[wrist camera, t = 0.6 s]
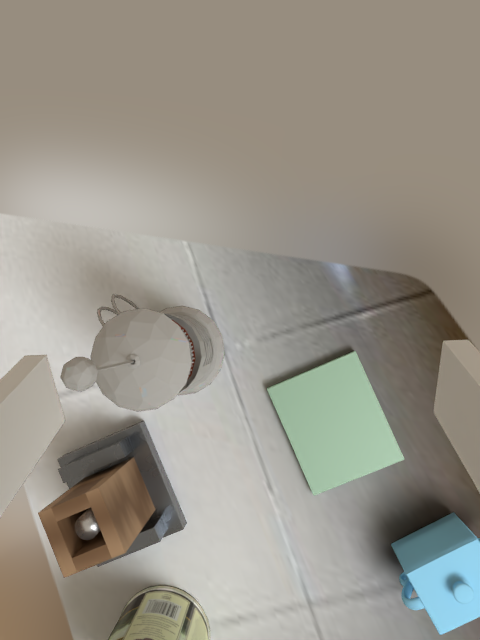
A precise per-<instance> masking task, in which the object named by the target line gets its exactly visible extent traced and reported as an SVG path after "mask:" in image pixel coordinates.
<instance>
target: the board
mask: <svg viewBox="0 0 480 640" xmlns="http://www.w3.org/2000/svg"><path fill="white" fill-rule="evenodd" d="M267 390H268V393H269V395H270V397H271V399H272V402H273V404H274V406H275V409H276V411H277V413H278V415H279V418H280V420H281V422H282V425H283V427H284V429H285V431H286V434H287V436H288V438H289V441H290V443H291V445H292V447H293V450H294V452H295V454H296V456H297V459H298V461H299V463H300V466H301V468H302V470H303V472H304V475H305V477H306V479H307V482H308V484H309V486H310V488H311V491H312V493H313V495H314V496H315V495H317V494H320V493H322V492H325V491H327V490H329V489H332V488H334V487H337V486H339V485H342V484H344V483H347V482H349V481H352V480H354V479H357V478H359V477H362V476H364V475H367V474H369V473H372V472H374V471H377V470H379V469H382V468H384V467H387V466H389V465H392V464H394V463H397V462H399V461H402V460H404V457H403V455H402V453H401V451H400V449H399V446H398V444H397V442H396V440H395V438H394V435H393V433H392V431H391V429H390V426H389V424H388V422H387V420H386V418H385V415H384V413H383V411H382V409H381V407H380V404H379V402H378V400H377V398H376V395H375V393H374V391H373V389H372V387H371V384H370V382H369V380H368V378H367V376H366V373H365V371H364V369H363V367H362V365H361V362H360V360H359V358H358V356H357V353H356V351H352V352H350V353H348V354H345V355H343V356H341V357H338V358H336V359H334V360H331V361H329V362H327V363H324V364H322V365H320V366H317V367H315V368H313V369H310V370H308V371H306V372H303V373H301V374H299V375H296V376H294V377H292V378H289V379H287V380H285V381H282V382H280V383H278V384H275V385H273V386H271V387H268V388H267Z"/></svg>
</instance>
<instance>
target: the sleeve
mask: <svg viewBox="0 0 480 640" xmlns="http://www.w3.org/2000/svg"><path fill="white" fill-rule="evenodd" d="M90 507H91V508H92V511H93V513H94V516H95V518H96V520H97V523H98V525H99V528H100V532H99V533H98V534H97V535H96V536H95V537H94V538H93V539H90V540H83V539H81V538H80V537H78V535H77V534H76V532H75V522H76V520H77V519H78V518H79V517H80V516H81V515H82V514H83V513H84V512H85V511H87V510H88V509H89V508H90ZM155 510H156V509H155V507H154V505H153V502H152V500H151V497H150V495H149V493H148V490H147V488H146V485H145V483H144V481H143V478H142V476H141V473H140V471H139V469H138V466H137V464H136V461H135V459H134V457H132V458H130V459H128V460H125V461H123V462H121V463H118V464H116V465H114V466H111V467H109V468H107V469H104V470H102V471H99V472H97V473H95V474H92V475H90V476H88V477H85V478H84V479H82V480H81V481H80V482H78V483H77V484H76V485H74V486H73V487H72V488H70V489H69V490H68V491H66V492H65V493H64V494H63V495H61V496H60V497H59V498H57V499H56V500H55V501H53V502H52V503H51V504H49V505H48V506H47V507H45V508H44V509H43V510H42V511H40V512H39V513H38V514H39V517H40V519H41V522H42V524H43V527H44V529H45V532H46V534H47V537H48V539H49V542H50V544H51V547H52V549H53V552H54V554H55V557H56V559H57V562H58V564H59V567H60V569H61V572H62V574H63V577H64V578H65V577H67V576H70V575H72V574H75V573H77V572H80V571H82V570H85V569H87V568H90V567H92V566H95V565H97V564H99V563H102V562H104V561H107V560H109V559H112V558H114V557H117V556H119V555H122V554H124V553H126V551H127V550H128V549H129V547H130V546H131V544H132V543H133V541H134V540H135V538H136V537H137V536H138V534H139V533H140V531H141V530H142V528H143V527H144V525H145V524H146V523H147V521H148V520H149V518H150V517H151V515H152V514H153V513H154V511H155Z"/></svg>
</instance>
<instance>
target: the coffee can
mask: <svg viewBox="0 0 480 640" xmlns="http://www.w3.org/2000/svg"><path fill="white" fill-rule="evenodd" d="M108 640H210V627H209V623H208V619H207V617H206V615H205V613H204V611H203V609H202V608H201V606H200V605H199V603H198V602H197V601H196V600H195V599H194V598H193V597H192V596H190V595H189V594H188V593H186V592H185V591H182V590H180V589H177V588H174V587H170V586H154V587H149V588H147V589H145V590H142V591H140V592H139V593H137V594H136V595H135V596H134V597H132V598H131V600H130V601H129V602H128V603H127V605H126V606H125V608H124V609H123V612H122V614H121V617H120V619H119V620H118V622H117V624H116V626H115V628H114V630H113V631H112V633H111V635H110V637H109V639H108Z"/></svg>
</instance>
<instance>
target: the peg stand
mask: <svg viewBox="0 0 480 640" xmlns="http://www.w3.org/2000/svg"><path fill="white" fill-rule="evenodd" d="M132 457H134V459H135V461H136V464H137V466H138V469H139V471H140V473H141V476H142V478H143V481H144V483H145V485H146V488H147V490H148V493H149V495H150V497H151V500H152V502H153V505H154V507H155V509H156V510H155V511H154V513H153V514H152V515H151V517H150V518H149V520H148V521H147V523H146V524H145V525H144V527H143V528H142V530H141V531H140V533H139V534H138V536H137V537H136V538H135V540H134V541H133V543H132V544H131V546H130V547H129V549H128V550H127V551H126V553H124V554H122V555H119V556H117V557H114V558H112V559H109V560H107V561H104V562H102V563H99V564H97V566H98V567H99V566H101V565H104V564H106V563H108V562H111V561H113V560H116V559H118V558H121V557H123V556H126V555H128V554H131V553H133V552H136V551H138V550H141V549H143V548H145V547H148V546H150V545H153V544H155V543H158V542H160V541H161V539H162V538H163V537H166V536H168V535H171V534H173V533H176V532H178V531H180V530H183V529H184V527H185V525H186V523H187V522H186V520H185V518H184V515H183V513H182V510H181V508H180V506H179V503H178V501H177V499H176V496H175V494H174V491H173V489H172V487H171V484H170V482H169V480H168V477H167V475H166V472H165V470H164V468H163V465H162V463H161V460H160V458H159V456H158V453H157V451H156V449H155V446H154V444H153V441H152V439H151V437H150V434H149V432H148V429H147V427H146V425H145V422H144V421H142V422H140V423H138V424H135V425H133V426H131V427H128V428H126V429H124V430H121V431H119V432H117V433H114V434H112V435H110V436H107V437H105V438H103V439H101V440H98V441H96V442H94V443H91V444H89V445H87V446H84V447H82V448H80V449H77V450H75V451H73V452H70V453H68V454H66V455H64V456H62V457H60V458H59V459H58V462H59V464H60V467H61V468H59V469H58V470H59V473H60V475H61V478H62V480H63V482H64V483H65V482H67V484H68V486H69V489H70V488H72V487H73V486H74V485H76V484H77V483H78V482H80V481H81V480H82V479H84V478H85V477H88V476H90V475H92V474H95V473H97V472H99V471H102V470H104V469H107V468H109V467H111V466H114V465H116V464H118V463H121V462H123V461H125V460H128V459H130V458H132ZM75 532H76V534H77V535H78V537H80V538H81V539H83V540H90V539H93V538H94V537H95V536H96V535H97V534H98V533H99V532H100V528H99V525H98V523H97V520H96V518H95V516H94V513H93V511H92V508H91V507H90V508H89V509H88V510H87V511H85V512H84V513H83V514H82V515H81V516H80V517H79V518H78V519H77V520H76V522H75Z"/></svg>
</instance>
